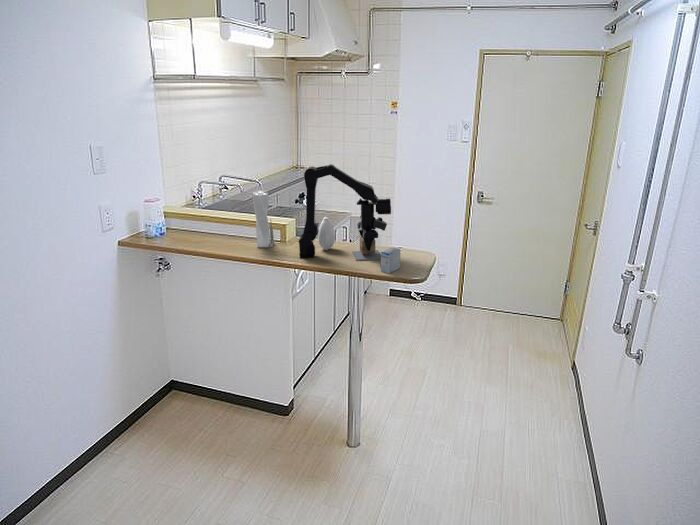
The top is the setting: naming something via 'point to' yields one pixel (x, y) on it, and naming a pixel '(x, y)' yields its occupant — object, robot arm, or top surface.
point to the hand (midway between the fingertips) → (367, 248)
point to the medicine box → (390, 260)
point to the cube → (364, 249)
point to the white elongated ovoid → (326, 234)
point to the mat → (366, 256)
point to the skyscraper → (262, 220)
